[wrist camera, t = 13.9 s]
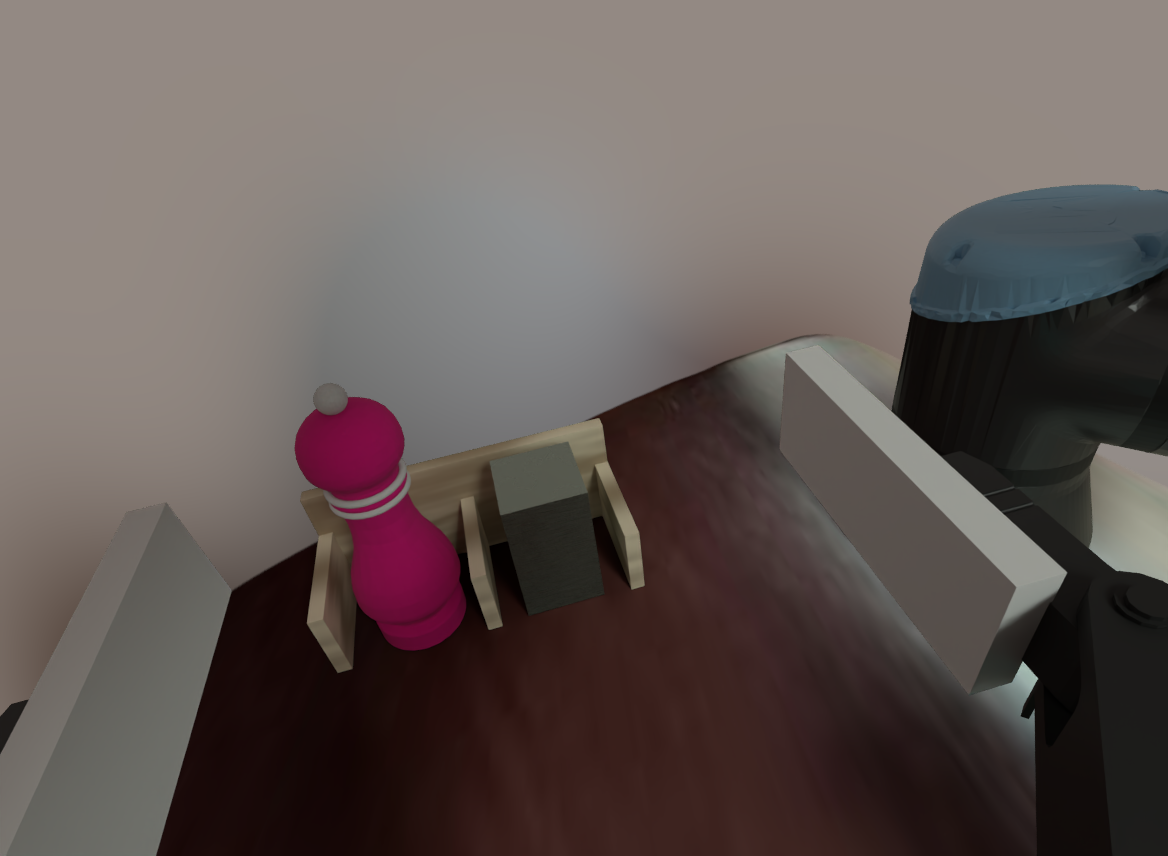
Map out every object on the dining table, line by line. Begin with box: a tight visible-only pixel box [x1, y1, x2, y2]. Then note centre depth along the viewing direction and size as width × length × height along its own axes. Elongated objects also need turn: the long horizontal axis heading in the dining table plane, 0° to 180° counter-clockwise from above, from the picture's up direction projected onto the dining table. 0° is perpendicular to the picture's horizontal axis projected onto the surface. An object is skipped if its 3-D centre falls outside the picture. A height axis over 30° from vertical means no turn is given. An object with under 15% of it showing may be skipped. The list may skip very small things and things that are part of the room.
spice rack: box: [300, 418, 645, 673], centre depth 46 cm, size 9×22×9 cm, turn 104°
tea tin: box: [490, 442, 604, 616], centre depth 45 cm, size 6×6×10 cm
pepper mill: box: [295, 383, 466, 651], centre depth 40 cm, size 7×7×20 cm
